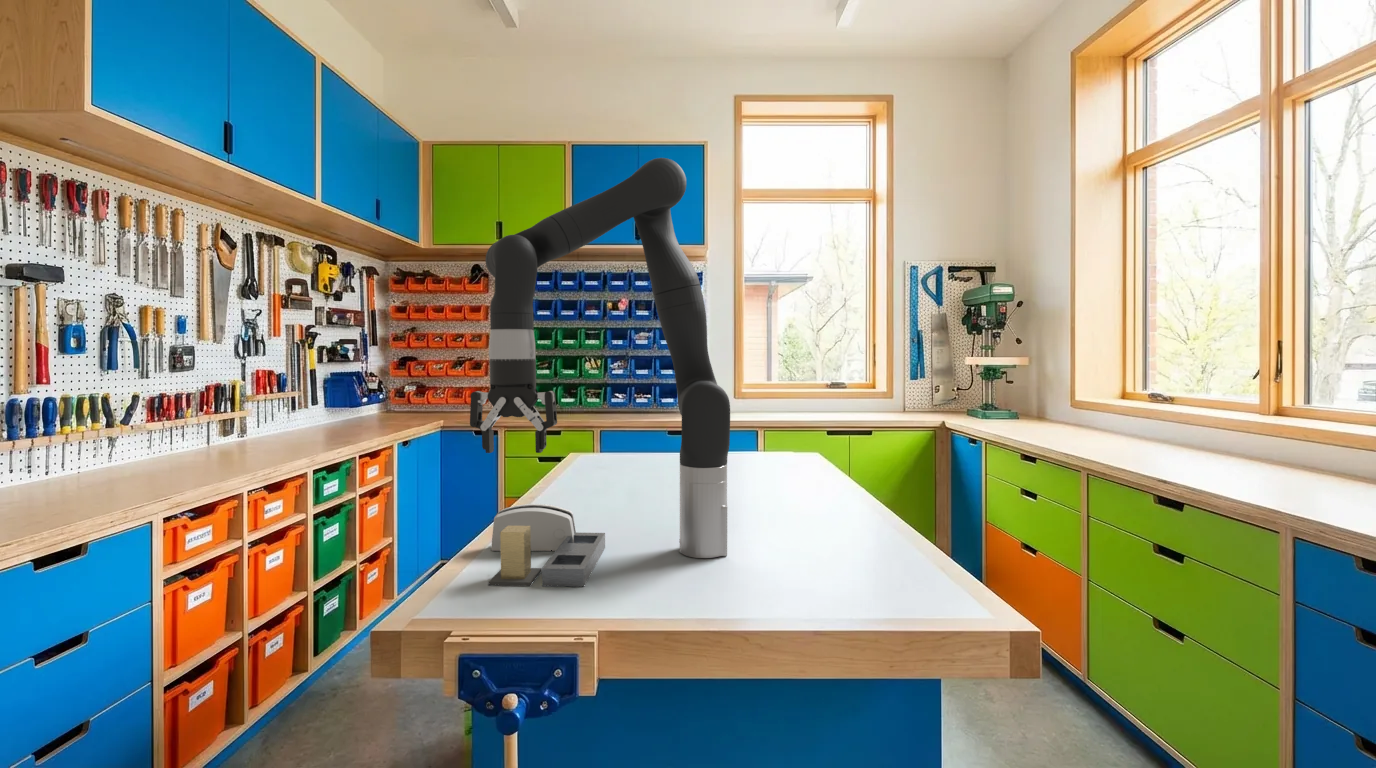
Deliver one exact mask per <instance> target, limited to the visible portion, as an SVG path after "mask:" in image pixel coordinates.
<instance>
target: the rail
mask: <svg viewBox="0 0 1376 768" xmlns="http://www.w3.org/2000/svg"><path fill="white" fill-rule="evenodd" d="M574 534H575V535H574V543H572V536H567V537H566V538H565V540H564V541H563V542H562V543H561V545H560V546H559V547H558V549H557V550H556V551H553V554H552V555H551V556H550V558H549V559H548V560H547V561H546V563H545V564H544V565H543V566H542V568H541V586H542V587H561V586H577V587H578V588H583V587H582V586H584V585H586V584H587V582H588V581H589V578H590V577H591V575H590V574H592V573H593V572H594V569H595V568H596V566H597V564H598V562H599V560H600V559H601V556H602V555H603V552H604V550H605V549H606V533H605V532H576V533H574ZM596 563H597V564H596ZM595 565H596V566H595ZM591 572H592V573H591ZM589 576H590V577H589ZM579 586H580V587H579ZM577 587H576V588H577ZM584 587H585V586H584Z"/></svg>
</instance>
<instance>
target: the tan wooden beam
mask: <svg viewBox="0 0 1376 768" xmlns="http://www.w3.org/2000/svg"><path fill="white" fill-rule="evenodd" d="M500 540H501V551H500V570H501V579H525V578H526V577H527V575H528V574H529V573H530V572H531V568H532V556H531V554H532V551H531V529H530V526H507V527H506V528H504V529H503V530H502V531H501V532H500Z"/></svg>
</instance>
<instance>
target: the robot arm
mask: <svg viewBox="0 0 1376 768" xmlns="http://www.w3.org/2000/svg"><path fill="white" fill-rule="evenodd" d="M686 189H687V177H686V174H685V172H684V170H683V168H682V167H681V166H680V165H679V164H678V163H677V162H676V161H674V160H673V159H671V158H670V159H669V158H665V157H656V158H653V159H651V160H648V161H647V162H645V163H644V164H643V165H641V166H640V167H639V168H638V169H637V170H636V171H635V172H633V174H632V175H630V176H629V177H627V178H626V179H624V180H623V181H621V182H619V183H617V184H615V185H614V186H612V187H610V188H608V189H606V190H605V191H602V192H600V193H597V194H596V195H593V196H591V197H589V198H587V199H584V200H582V201H580V202H578V203H575V204H573V205H571V206H568V207H566V208H564V209H562V210H560V211H558V212H555V213H553V214H551V215H549V216H547V217H545V218H543V219H542V220H540V221H539V222H537V223H535V224H534V225H532V226H531V227H529V228H526V229H524V230H522V231H520V232H516V233H515V234H508V235H505V236H503V237H502V238H500V239H499V240H497V241H495V242H494V243H493V244H491V246H489V248H488V249H487V252H486V254H485V267H486V268H487V270H488V272H489V274H491V276H492V277H494V294H493V297H492V298H491V300H490V307H489V313H490V314H489V320H490V321H489V322H490V323H489V325H490V326H489V327H490V330H489V331H490V332H489V333H490V334H489V343H488V345H489V347H488V349H489V350H488V358H489V388H490V389H489V391H488V392H483V391H481V390H477V391H473V392H471V393H470V407H469V408H470V409H469V411H470V412H469V414H470V415H469V426H470V427H471V428H475V429H479V430H480V432H481V446H482V447H481V448H482V449H483V450H484V451H485V453H486V454H491V453H493V452H494V451H495V438H494V437H495V436H494V433H495V431H494V429H492V428H493V426H495V423H497V421H498V420H499V419H500V418H501V417H502V418H510V417H515V418H522V417H523V418H524V417H525V418H526V419H527V421H528V422H531V424H532V425H533V426H534V428H535V429H536V431H534V433H535V441H534V442H535V453H537V454H541V453H542V452H544V449H546V447H547V430H548V429H550V428H552V427H554V426H555V425H557V424H558V417H557V413H558V412H557V403H556V402H557V401H556V392H555V391H554V390H549V391H544V392H539V391H538V390H537V371H536V370H537V368H536V367H537V365H536V364H537V361H536V339H535V333H534V332H535V331H534V305H533V301H534V296H535V291H536V283H537V278H538V277H537V276H538V268H539V267H542V266H543V265H545V264H546V263H548V262H550V261H553V260H557V259H560V258H562V257H565V256H567V255H568V254H571V253H574V251H576V250H579V249H581V248H582V247H584V246H587V245H588V244H590V243H592V242H594V241H595V240H597V239H598V238H600V237H602V236H603V235H605V234H607V233H608V232H610V231H611V230H613V229H614V228H616V227H618V226H619V225H621V224H623V223H624V222H626V221H628V220H630V219H632V218H633V220H634V224H635V227H636V228H637V232H638V235H639V239H640V241H641V245H642V249H643V253H644V257H645V262H646V267H647V271H648V276H649V278H650V279H649V280H650V284H651V289H652V295H653V300H654V303H655V308H656V313H657V316H658V319H659V323H660V326H661V331H662V333H663V336H664V340H665V343H666V345H667V349H668V352H669V354H670V357H671V361H672V364H673V369H674V370H673V371H674V378H675V384H676V385H675V386H676V394H677V404H678V410H679V413H680V415H681V443H680V450H679V541H678V542H679V553H680V554H681V555H684V556H686V557H689V558H697V559H712V558H717V557H727V556H728V454H729V450H730V443H731V442H730V441H731V439H730V438H731V437H730V436H731V402H730V399H729V395H728V394H727V393H726V391H725V390H724V389H723V387H721V386H720V385H719V384H718V382H717V380H716V377H715V374H714V370H713V367H712V363H711V359H710V355H709V350H708V349H709V348H708V327H707V326H708V324H707V313H706V306H705V305H706V304H705V300H704V296H703V295H704V294H703V291H702V287H701V282H700V279H699V276H698V274H697V271H696V269H695V268H694V266H693V265H692V263H691V261H690V260H689V258H688V257H687V255H686V254H685V252H684V251H683V249H682V247H681V246H680V244H679V242H678V239H677V237H676V233H675V229H674V224H673V219H672V214H671V213H672V211H671V209H672V208H674V207H675V206H676V205H678V203H679V202H680V201H681V200H682V198H683V196H684V195H685V192H686V191H687V190H686ZM539 399H540V402H541V404H542V405H544V407H545V417H546V418H545V420H544V418H542V416H541V413H539V411H538V410H537V408H536V407H535V405H536V404H537V402H538V401H539ZM487 400H488V401H489V403H490V404H491V406H492V408H491V410H490V411H489V413H488V414H487V416H486V418H485V419H484V420H483V409H484V408H483V406H484V405H485V404H486V403H487Z"/></svg>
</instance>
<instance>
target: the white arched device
mask: <svg viewBox="0 0 1376 768" xmlns="http://www.w3.org/2000/svg"><path fill="white" fill-rule="evenodd" d="M574 518H575V517H574V513H573V511H572V510H570V509H567V508H564V507H561V506H557V505H553V504H552V505H551V504H546V503H526V504H525V503H524V504H518V505H514V506H509V507H506V508H503V509H501V510H499V511H497V513H496V515H495V516H494V518H493V527H492V534H491V535H492V538H491V546H490V551H491V552H492V551H493V552H494V551H496V552H497V551H499V552H501V540H500V532H501V531H502V530H503V529H504V528H506V527H507V526H530V529H531V552H537V551H538V552H555V551H556V550H557V549H558V547H559V546H560V545H561V543H562V542H563V541H564V540H565V538H566V537H567V536H572V543H574V535H575V534H574V533H577V532H576V531H577V530H576V526H575V519H574ZM551 550H552V551H551Z"/></svg>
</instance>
